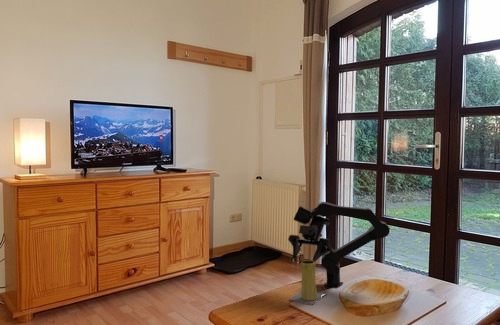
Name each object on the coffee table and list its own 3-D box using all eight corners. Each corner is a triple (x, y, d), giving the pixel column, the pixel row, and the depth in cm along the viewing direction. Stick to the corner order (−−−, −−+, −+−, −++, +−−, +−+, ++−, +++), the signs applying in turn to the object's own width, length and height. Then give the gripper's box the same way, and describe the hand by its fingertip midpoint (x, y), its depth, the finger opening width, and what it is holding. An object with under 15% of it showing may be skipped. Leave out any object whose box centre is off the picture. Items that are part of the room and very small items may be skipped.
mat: (304, 290, 166) (304, 289, 166) (326, 294, 160) (326, 293, 160) (289, 300, 155) (289, 299, 155) (312, 305, 149) (312, 303, 149)
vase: (314, 301, 151) (313, 264, 151) (299, 299, 154) (297, 263, 154) (319, 296, 157) (318, 260, 156) (304, 294, 159) (303, 259, 159)
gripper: (289, 216, 172) (276, 246, 163) (328, 219, 160) (316, 252, 152) (299, 231, 178) (287, 261, 170) (337, 235, 167) (326, 267, 158)
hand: (303, 260), depth 162 cm, fingers open, 9 cm apart
